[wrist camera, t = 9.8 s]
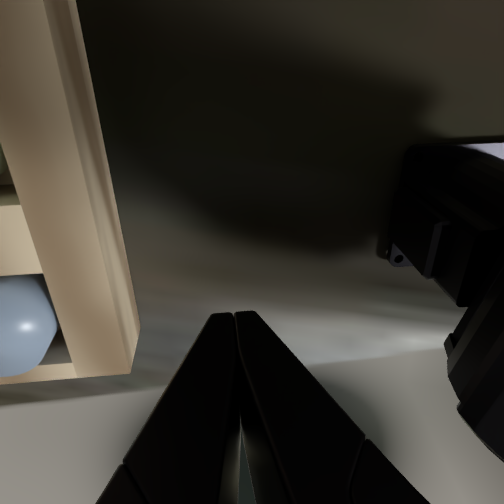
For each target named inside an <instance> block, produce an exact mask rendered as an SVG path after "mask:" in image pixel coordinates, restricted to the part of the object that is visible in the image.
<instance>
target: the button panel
mask: <svg viewBox="0 0 504 504" xmlns="http://www.w3.org/2000/svg"><path fill="white" fill-rule="evenodd" d="M0 143H1V146H2V149H3V152H4V155H5V158H6V161H7V164H8V167H9V168H8V169H7V170H6V171H5V172H3V173H2V174H1V175H0V276H7V275H23V274H38V273H43V274H44V277H45V280H46V283H47V286H48V289H49V292H50V296H51V299H52V302H53V305H54V308H55V311H56V314H57V317H58V320H59V323H60V325H59V327H58V329H57V331H56V333H55V335H54V337H53V339H52V341H51V343H50V345H49V347H48V349H47V351H46V353H45V355H44V357H43V359H42V360H41V362H40V363H39V364H38V365H37V366H36V367H34V368H33V369H31V370H30V371H28V372H25V373H23V374H20V375H15V376H9V377H0V384H12V383H23V382H35V381H47V380H59V379H70V378H82V377H94V376H106V375H118V374H129V373H130V371H131V367H132V363H133V358H134V354H135V349H136V345H137V341H138V336H139V332H140V327H141V326H140V321H139V316H138V311H137V306H136V301H135V296H134V291H133V286H132V281H131V276H130V271H129V266H128V261H127V256H126V251H125V246H124V241H123V236H122V231H121V226H120V221H119V216H118V211H117V206H116V201H115V196H114V191H113V186H112V181H111V176H110V171H109V166H108V161H107V156H106V151H105V146H104V141H103V136H102V131H101V126H100V121H99V115H98V110H97V105H96V100H95V95H94V90H93V85H92V80H91V75H90V70H89V65H88V60H87V55H86V50H85V45H84V40H83V35H82V30H81V25H80V20H79V15H78V10H77V5H76V0H0Z"/></svg>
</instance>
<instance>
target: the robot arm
mask: <svg viewBox="0 0 504 504" xmlns="http://www.w3.org/2000/svg"><path fill="white" fill-rule="evenodd" d="M417 152H420V156H419V158H418V159H416V160H413V157H414V155H415V154H416V153H417ZM388 237H389V238H390V241H389V247H388V253H387V260H388V261H389V263H390V264H391V265H392V266H394V267H404V266H414V267H415V268H416V269H417V270H418V271H419V272H420V273H421V275H422V276H423V277H424V278H425V279H427V280H431V279H433V280H434V281H435V282H436V283H437V284H438V285H439V286H440V287H441V289H442V290H443V291H444V292H445V293H446V294H447V295H448V296H449V297H450V298H451V299H452V301H453V302H454V303H455V304H456V305H457V306H458V307H468V309H467V310H466V312H465V314H464V315H463V317H462V319H461V320H460V322H459V324H458V325H457V327H456V329H455V330H454V332H453V333H450V334H449V335H448V337H447V339H446V340H445V342H444V347H445V350H446V354H447V357H448V360H447V369H448V378H449V380H450V382H451V384H452V386H453V389H454V391H455V392H456V395H457V397H458V399H459V400H460V402H459V403H458V405H457V410H458V413H459V414H460V416H461V418H462V419H463V420H464V421H465V423H466V424H467V425H468V426H469V427H470V429H471V430H472V431H473V433H474V434H475V435H476V436H477V437H478V438H479V439H480V440H481V441H482V442H483V443H484V445H485V446H486V447H487V448H488V449H489V450H490V451H491V452H493V454H495V455H496V456H497V457H498V458H499V459H500V460H502V461H503V462H504V141H483V142H460V143H436V144H416V145H412V146H411V147H409V148H408V149H407V151H406V153H405V156H404V161H403V167H402V173H401V178H400V184H399V188H398V189H397V190H396V192H395V194H394V199H393V205H392V211H391V217H390V223H389V229H388ZM397 255H400V257H399V258H398V259H395V257H396V256H397ZM240 419H241V427H242V435H243V441H244V446H245V451H246V456H247V461H248V466H249V471H250V476H251V481H252V486H253V491H254V496H255V501H256V504H430V503H429V502H428V501H427V500H426V499H425V498H424V497H423V496H422V495H421V494H420V493H419V492H418V491H417V490H416V489H415V488H414V487H413V486H412V485H411V484H410V483H409V481H408V480H407V479H406V478H405V477H404V476H403V475H402V474H401V473H400V472H399V471H398V470H397V469H396V468H395V467H394V466H393V464H392V463H391V462H390V461H389V460H388V459H387V458H386V457H385V456H384V455H383V454H382V452H381V451H380V450H379V449H378V448H377V447H376V446H375V444H374V443H373V442H372V441H371V440H370V439H366V435H365V434H364V432H363V431H362V430H361V429H360V428H359V427H358V426H357V425H356V423H355V422H354V421H353V420H352V419H351V418H350V417H349V416H348V415H347V413H346V412H345V411H344V410H343V409H342V408H341V407H340V406H339V404H338V403H337V402H336V401H335V400H334V399H333V398H332V397H331V396H330V394H329V393H328V392H327V391H326V390H325V389H324V388H323V387H322V385H321V384H320V383H319V382H318V381H317V380H316V379H315V377H313V375H312V374H311V373H310V372H309V371H308V370H307V369H306V367H305V366H304V365H303V364H302V363H301V362H300V361H299V360H298V358H297V357H296V356H295V355H294V354H293V353H292V352H291V351H290V349H289V348H288V347H287V346H286V345H285V344H284V343H283V342H282V340H281V339H280V338H279V337H278V336H277V335H276V334H275V333H274V332H273V330H272V329H271V328H270V327H269V326H268V325H267V324H266V323H265V321H264V320H263V319H262V318H261V317H260V316H259V315H258V314H257V313H256V312H255V311H240V312H235V313H234V316H233V314H232V313H230V312H226V313H214V314H211V315H210V317H209V318H208V320H207V322H206V323H205V325H204V327H203V328H202V330H201V331H200V333H199V335H198V336H197V338H196V340H195V341H194V343H193V345H192V346H191V348H190V350H189V351H188V353H187V355H186V356H185V358H184V359H183V361H182V363H181V364H180V366H179V368H178V369H177V371H176V373H175V374H174V376H173V378H172V379H171V381H170V383H169V384H168V386H167V387H166V389H165V391H164V392H163V394H162V396H161V397H160V399H159V401H158V402H157V404H156V406H155V407H154V409H153V411H152V412H151V414H150V416H149V417H148V419H147V420H146V422H145V424H144V425H143V427H142V429H141V430H140V432H139V434H138V435H137V437H136V439H135V440H134V442H133V443H132V445H131V447H130V448H129V450H128V452H127V454H126V455H125V457H124V458H123V464H120V465H119V466H118V468H117V470H116V471H115V473H114V474H113V476H112V478H111V479H110V481H109V483H108V484H107V486H106V488H105V489H104V491H103V493H102V494H101V496H100V497H99V499H98V500H97V502H96V504H238V487H239V465H240V441H241V440H240V439H241V427H240Z"/></svg>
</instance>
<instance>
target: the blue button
mask: <svg viewBox="0 0 504 504" xmlns="http://www.w3.org/2000/svg"><path fill="white" fill-rule="evenodd" d="M59 325H60V323H59V320H58V317H57V314H56V311H55V308H54V305H53V302H52V299H51V296H50V292H49V289H48V286H47V283H46V280H45V277H44V274H43V273H38V274H23V275H7V276H0V377H9V376H15V375H20V374H23V373H25V372H28V371H30V370H31V369H33V368H34V367H36V366H37V365H38V364H39V363H40V362H41V360H42V359H43V357H44V355H45V353H46V351H47V349H48V347H49V345H50V343H51V341H52V339H53V337H54V335H55V333H56V331H57V329H58V327H59Z"/></svg>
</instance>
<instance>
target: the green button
mask: <svg viewBox="0 0 504 504" xmlns="http://www.w3.org/2000/svg"><path fill="white" fill-rule="evenodd" d="M8 168H9V167H8V164H7V161H6V158H5V155H4V152H3V149H2V146H1V143H0V175H1V174H2V173H3V172H5V171H6V170H7V169H8Z"/></svg>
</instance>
